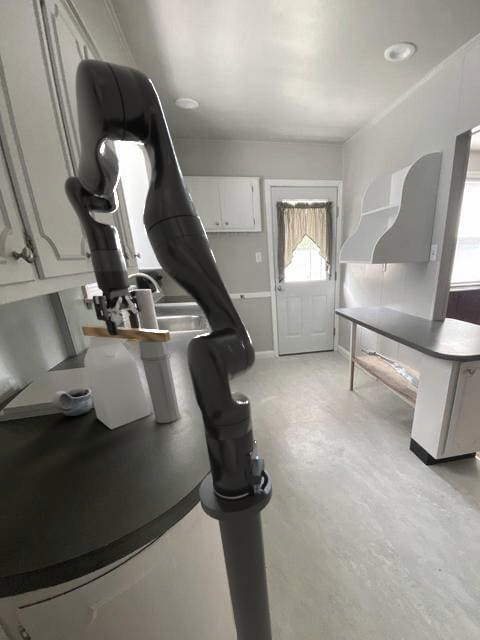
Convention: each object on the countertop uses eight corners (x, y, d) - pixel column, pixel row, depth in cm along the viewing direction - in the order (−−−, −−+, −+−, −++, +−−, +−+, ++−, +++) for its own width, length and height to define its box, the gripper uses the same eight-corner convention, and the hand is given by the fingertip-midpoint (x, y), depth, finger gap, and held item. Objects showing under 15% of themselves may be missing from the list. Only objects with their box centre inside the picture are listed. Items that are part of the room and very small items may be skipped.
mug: (101, 405, 104) (93, 378, 100) (84, 423, 93) (74, 393, 89) (70, 408, 103) (61, 381, 99) (50, 426, 92) (38, 396, 88)
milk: (135, 404, 104) (116, 329, 94) (150, 414, 97) (132, 334, 87) (97, 417, 96) (71, 337, 86) (111, 429, 89) (85, 343, 79)
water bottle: (150, 419, 94) (132, 340, 84) (175, 410, 99) (160, 335, 89) (162, 430, 88) (144, 346, 78) (188, 420, 92) (173, 340, 83)
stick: (170, 340, 84) (169, 330, 82) (166, 342, 82) (164, 332, 81) (89, 333, 88) (87, 324, 87) (83, 335, 86) (81, 326, 85)
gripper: (101, 270, 71) (118, 338, 77) (141, 268, 84) (153, 326, 90) (75, 271, 73) (94, 337, 79) (117, 269, 85) (131, 326, 92)
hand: (125, 331), depth 84 cm, fingers open, 8 cm apart
